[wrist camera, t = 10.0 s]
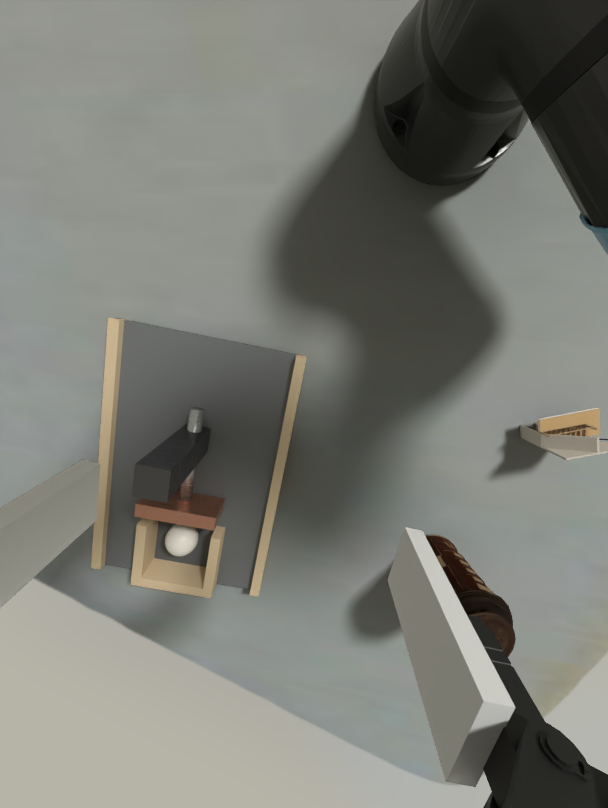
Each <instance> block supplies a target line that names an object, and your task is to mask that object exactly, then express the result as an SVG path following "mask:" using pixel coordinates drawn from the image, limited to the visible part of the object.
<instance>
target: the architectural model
mask: <svg viewBox="0 0 608 808" xmlns="http://www.w3.org/2000/svg"><path fill="white" fill-rule="evenodd" d="M534 424H535V429H536V431H535V430H533V429H531V428H528V427H526V426H524V425H520V432H521V438H523V439H524V440H526V441H528V442H530V443H532V444H534V445H536V446H538V447H540V448H542V449H544V450H546V451H548V452H550V453H553V454H555V455H557V456H559V457H561V458H563V459H565V460H570V459H576V458H581V457H586V456H592V455H597V454H603V453H608V444H606V443H603V442H601V441H599V440H608V439H599V437H591V436H593V435H598V434H600V408H593V409H588V410H583V411H577V412H572V413H567V414H562V415H556V416H551V417H546V418H541V419H538V423H534Z"/></svg>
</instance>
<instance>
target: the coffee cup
mask: <svg viewBox="0 0 608 808" xmlns="http://www.w3.org/2000/svg"><path fill="white" fill-rule="evenodd" d="M425 537H426V539H427V540H428V542H429V544H430V546H431V548H432V550H433V552H434V554H435V556H436V558H437V559H438V561H439V563H440V565H441V567H442V569H443V571H444V573H445V575H446V576H447V578H448V580H449V582H450V584H451V586H452V588H453V590H454V592H455V594H456V595H457V597H458V599H459V601H460V603H461V605H462V607H463V609H464V611H465V612H466V614H467V615H470V616H475V617H479V618H480V619H481V620H482V621H483V622H484V623H485V624H486V626H487V627H488V628H489V629H490V630H491V631H492V632H493V633H494V635H495V637H496V639H497V640H498V642H499V644H500V645H501V647H502V649H503V652H504V653H505V654H506V656H507V657H508V656H509V655H510V653H511V652H512V650H513V648H514V644H515V633H514V630H513V620H512V615H511V612H510V609H509V606H508V605H507V604H506V602H505V601H504V600H503V599H502V598H501V597H499V596H497V595H495V594H494V593H493V592H492V591H491V590H490V589H489V588H488V587H487V586H486V585H485V583H484V581H483V580H482V579H481V578H480V577H479V576H478V575H477V574H476V572H475V571H474V570H473V569H472V568H471V567H470V565H469V564H468V562H467V561H466V560H465V559H464V557H463V556H462V555H461V554H459V553H458V552H457V549H456V547H455V546H454V545H453V543H451V542H450V541H449V540H448V539H446V538H444V537H442V536H439V535H427V536H425Z"/></svg>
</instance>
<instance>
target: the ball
mask: <svg viewBox="0 0 608 808" xmlns="http://www.w3.org/2000/svg"><path fill="white" fill-rule="evenodd" d="M197 543H198V532H197V530H196V528H195V527H190V526H185V525H179V524H176V525H174V526H173V527H171V528H170V529H169V531H168V532H167V534H166V537H165V546H166V549H167V550H168V552H169V553H171V554H172V555H174V556H185V555H187V554H189V553H191V552H192V551H193V550H194V548H195V547H196V545H197Z"/></svg>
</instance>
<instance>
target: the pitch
mask: <svg viewBox="0 0 608 808" xmlns="http://www.w3.org/2000/svg"><path fill="white" fill-rule="evenodd" d="M306 360H307V356H302V355H297V354H292V353H287V352H282V351H277V350H272V349H267V348H262V347H257V346H253V345H248V344H243V343H238V342H233V341H228V340H223V339H218V338H213V337H208V336H203V335H199V334H194V333H189V332H184V331H179V330H174V329H169V328H164V327H159V326H154V325H150V324H145V323H140V322H135V321H130V320H125V319H119V318H108V328H107V343H106V357H105V372H104V386H103V401H102V415H101V429H100V444H99V458H98V463H100V478H99V492H98V506H97V520H96V521H95V522H94V531H93V545H92V560H91V568H93V569H99V570H100V569H101V568H102V567H103V566H104V565H105V564H106V565H112V566H117V567H123V568H129V569H132V576H131V585H136V586H142V587H148V588H153V589H159V590H165V591H171V592H177V593H183V594H189V595H195V596H201V597H207V598H211V597H212V594H213V591H214V588H215V586H216V583H217V584H222V585H228V586H234V587H240V588H246V589H251V590H250V595H251V596H257V597H258V596H259V592H260V587H261V582H262V577H263V572H264V567H265V562H266V557H267V552H268V547H269V542H270V537H271V532H272V527H273V522H274V518H275V513H276V508H277V503H278V498H279V493H280V488H281V483H282V478H283V473H284V468H285V463H286V458H287V453H288V448H289V443H290V439H291V434H292V429H293V424H294V419H295V414H296V409H297V404H298V399H299V394H300V389H301V384H302V379H303V374H304V369H305V365H306ZM191 407H199V408H203V409H204V417H203V424H202V427H205V428H210V429H211V432H210V439H209V446H208V452H207V453H206V455H205V456H204V457H203V458H202V460H201V461H200V462H199V463H198V465H197V467H196V475H195V482H194V489H193V493H197V494H203V495H208V496H214V497H219V498H225V503H224V509H223V512H222V514H221V516H220V519H219V521H218V523H217V525H216V527H215V530H214V531H213V530H207V529H202V528H196V527H195V528H196V530H197V532H198V543H197V545H196V547H195V548H194V550H193V551H192V552H191V553H189V554H187V555H185V556H174V555H172V554H171V553H169V552H168V550H167V549H166V546H165V537H166V534H167V532H168V531H169V529H170V528H171V527H173V526H174V525H176V524H174V523H168V522H162V521H157V520H151V519H146V518H140V517H134V514H135V504H136V503H137V502H138V501H139V500H140V499H141V498H138V497H132V489H133V479H134V468H135V464H136V463H137V462H138V461H139V460H141V459H142V458H143V457H144V456H146V455H147V454H148V453H150V452H151V451H152V450H153V449H155V448H156V447H157V446H158V445H160V444H161V443H162V442H164V441H165V440H166V439H167V438H169V437H170V436H171V435H172V434H174V433H175V432H176V431H178V430H179V429H180V428H181V427H183V426H184V425H185V424H188V418H189V410H190V408H191ZM178 490H179V488H178Z"/></svg>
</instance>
